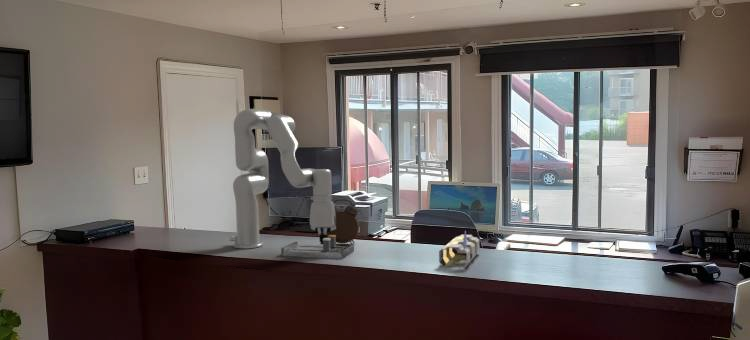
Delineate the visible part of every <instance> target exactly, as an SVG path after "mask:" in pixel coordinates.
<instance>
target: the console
mask: <svg viewBox="0 0 750 340" xmlns="http://www.w3.org/2000/svg"><path fill="white" fill-rule="evenodd" d="M280 249H281V250H280V251H281V253H280V255H281V257H295V258H297V257H298V258H315V257H316V258H319V259H341V260H343V259H345V258H347V257H348V256H350V255H351V254H353V253H354V252H355V243H352V244H351V243H350V244H348V245H347V246H346V245H336V246H335V247H330V250H329V251H326V250H323V244H320V245H319V244H298V241H293V242H291V243H289V244H287V245H285V246H283V247H280ZM346 256H347V257H346Z"/></svg>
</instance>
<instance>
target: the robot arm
mask: <svg viewBox="0 0 750 340" xmlns="http://www.w3.org/2000/svg"><path fill="white" fill-rule="evenodd" d="M254 129H255V130H267V131H268V134H269V135H270V137H271V138H272V140H273V143H274V145H275V146H276V148H277V150H278V151H279V153H280V166H281V170H282V172H283V174H284V176H285V177H286V179H287V180H288V182H289V183H290V185H291V186H293V187H294V188H297V189H300V188H307V187H312V191H313V192H312V193H313V194H312V196H310V197H309V198H310V200H311V201H312V202H311V205H310V211H309V212H310V213H309V225H310V229H311V230H313V231H316V232H317V233H318V235H319V243H320V245H323V239H324V238H329V237H328V233H329V232H330V231H331V230H335V229H336V214H335V207H334V206H335V203H333V202H334V201H333V197H332V196H333V194H332V193H333V191H332V190H333V189H332V187H333V186H332V171H331V169H327V168H320V169H319V168H318V169H317V168H316V169H315V168H309V167H308V168H301V166H300V165H299V164H298V161H297V158H296V154H295V153H296V151H297V150H298V149H299V142H298V140H297V138H296V137H295V135H294V134H293V133H294V132H295V131H296V122H295V120H294V119H293V118H292V117H291V116H289V115H286V114H282V113H279V112H276V111H272V110H269V109H260V108H259V109H257V108H248V109H242V110H241V111H240V112H238V113H237V115H236V116H235V118H234V121H233V133H234V148H235V149H234V150H235V152H234V153H235V166H236V168H237V169H238V170H240V171H242V172H243V171H244V172H247V171H249V173H244V174H240V175H238V176H237V177H236V178H235V179H234V180H233V183H232V190H233V194H234V198H235V199H234V200H235V212H236V213H235V214H236V235H235V236H233V235H231V236H230V237H229V242H234V243H233V248H235V249H244V250H245V249H246V250H247V249H255V248H259V247H263V245H264V242H263V241H262V240H261V241H260V219H259V218H260V217H259V202H258V199H257V197H256V195H260V194H263V193H265V192H266V191H267V190H268V188H269V184H270V183H269V182H270V180H269V178H270V177H269V176H270V175H269V174H270V173H269V158H268V156H267V154H266V152H265V151H264V150H263V149H260V148H256V138H255V135H254V132H253V131H252V130H254Z"/></svg>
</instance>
